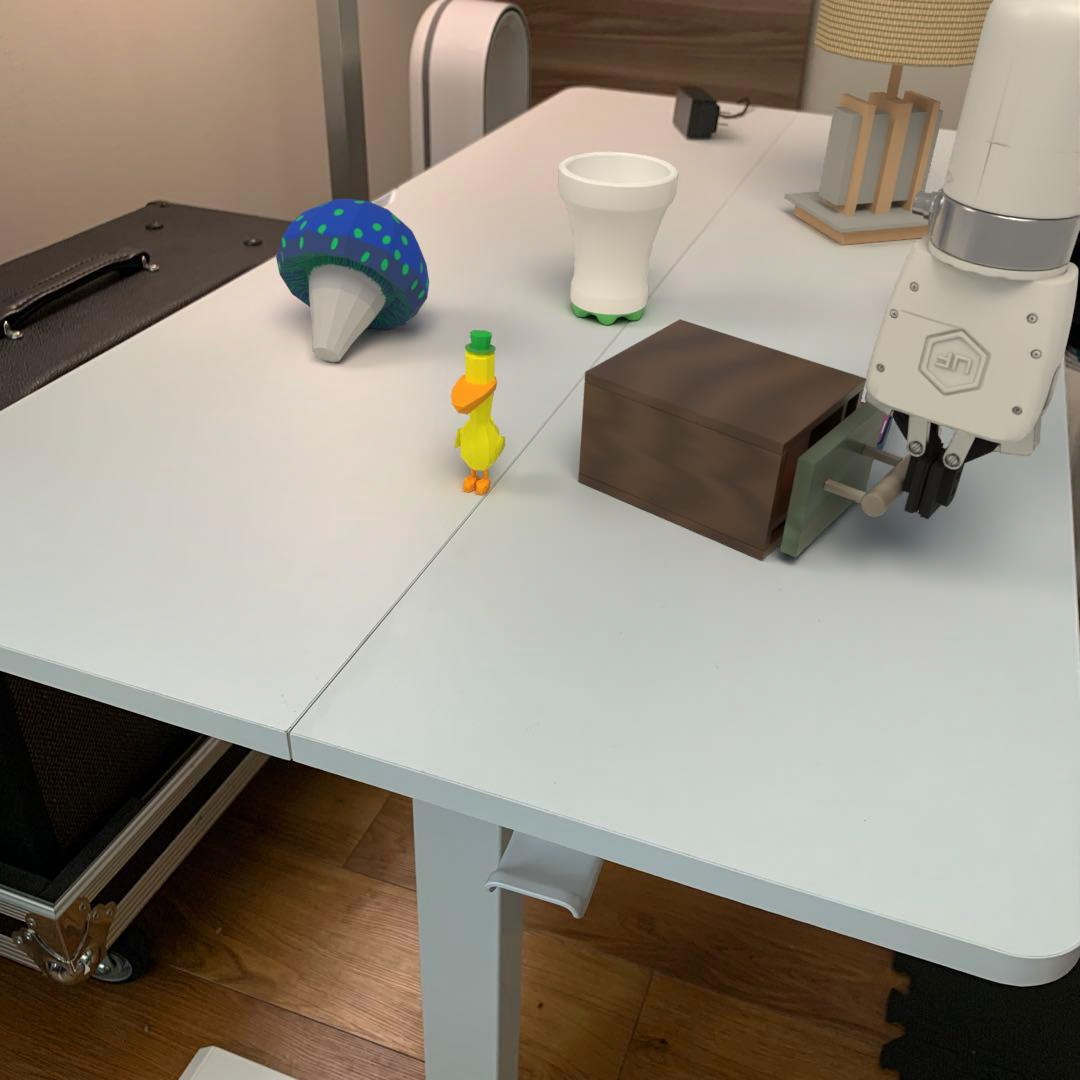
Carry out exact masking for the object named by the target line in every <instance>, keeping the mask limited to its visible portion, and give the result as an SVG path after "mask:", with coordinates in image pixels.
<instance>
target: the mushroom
mask: <svg viewBox="0 0 1080 1080" xmlns="http://www.w3.org/2000/svg"><path fill="white" fill-rule="evenodd" d="M276 252H277V253H276V255H275V259H276V263H277V264H276V265H277V268H278V272H279V273H278V274H279V276H280V277H281V279H282V281H283V282H284V284H285V285H286V287H287V289H288V290H289V292H290V293H291V295H292V296H294V297H295V298H297V300H299V301H301V302H302V303H304V304H305V305H306V306H308V307H309V308H310V318H311V331H312V332H311V333H312V334H311V336H312V337H311V339H312V340H311V342H312V343H311V346H312V347H311V349H312V354H313V355H314V356H316V357H317V358H319V360H323V361H325V362H330V363H337V362H338V363H339V362H340V361H341V360H342V358H343V357H344V355H345V354H346V353H347V351H348V350H349V349H350V347H351V346H352V345H353V343H354V342H355V341H356V340H357V339H358V338H359V337H360V336H361V335H362V333H363V332H364V331H365V330H366V329H367V328H368V329H372V330H373V329H374V330H381V331H382V330H388V329H391V328H396V327H401V326H405V325H406V324H407V323H409V322H410V321H411V320H412V319H413V318H414V317H415V316H417V314H418V313H419V311H420V310H421V308H422V307H423V305H424V304H425V302H426V300H427V299H428V297H429V296H428V294H429V287H430V278H429V270H428V264H427V262H426V260H425V257H424V254H423V252H422V249H421V247H420V244H419V242H418V240H417V238H416V235H415V234H414V231H413V230H412V229H411V228H410V227H409V226H407V225H406V224H405V223H404V222H403V221H402V220H401V219H400V218H399V217H397V216H396V215H395V214H394V213H393V212H392V211H391V210H389V209H388V208H385V207H383V206H381V205H379V204H376V203H374V202H372V201H369V200H362V199H353V198H336V199H333V200H330V201H327V202H324V203H321V204H319V205H316V206H314V207H312V208H310V209H308V210H305V211H303V212H302V213H300V214H299V215H298V216H297V217H296V218H295V219H294V220H293V221H292V222H291V223H290V224H289V225H288V227H287V229H286V230H285V233H284V234H283V236H282V237H281V240H280V243H279V247H278V250H277V251H276Z"/></svg>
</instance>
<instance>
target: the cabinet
mask: <svg viewBox="0 0 1080 1080" xmlns="http://www.w3.org/2000/svg"><path fill="white" fill-rule="evenodd" d="M865 388H866V377H863V376H860V375H856V374H854V373H851V372H848V371H844V370H842V369H838V368H835V367H832V366H828V365H825V364H823V363H819V362H816V361H813V360H809V359H806V358H803V357H800V356H797V355H793V354H790V353H787V352H784V351H781V350H778V349H774V348H772V347H768V346H766V345H763V344H759V343H756V342H753V341H749V340H746V339H743V338H740V337H737V336H734V335H731V334H729V333H728V334H727V333H724V332H721V331H719V330H715V329H712V328H709V327H706V326H703V325H699V324H696V323H694V322H690V321H688V320H684V319H678V320H676V321H674V322H672V323H670V324H668V325H667V326H665V327H663V328H662V329H660V330H658V331H656V332H654V333H652V334H650V335H649V336H647V337H645V338H643V339H641V340H640V341H638V342H635V344H632V345H631V346H629V347H627V348H626V349H624V350H622V351H620V352H618V353H617V354H615V355H613V356H611V357H609V358H607V359H606V360H604V361H602V362H600V363H598V364H597V365H595V366H593V367H591V368H589V369H588V370H586V371H585V372H584V383H583V398H582V399H583V400H582V416H581V431H580V432H581V433H580V434H581V435H580V449H579V463H578V464H579V466H578V478H577V479H578V480H577V481H578V483H581V484H582V485H585V486H587V487H590V488H593V489H594V490H597V491H600V492H602V493H604V494H606V495H608V496H611V497H613V498H616V499H618V500H620V501H623V502H624V503H627V504H629V505H632V506H634V507H637V508H639V509H641V510H643V511H645V512H648V513H651V514H652V515H655V516H658V517H659V518H662V519H665V520H666V521H669V522H671V523H673V524H676V525H677V526H681V527H683V528H685V529H688V530H689V531H692V532H695V533H697V534H699V535H701V536H704V537H706V538H708V539H711V540H713V541H716V542H718V543H719V544H722V545H725V546H727V547H729V548H732V549H734V550H736V551H738V552H741V553H743V554H746V555H748V556H750V557H752V558H755V559H757V560H759V561H763V560H765V558H766V557H768V556H769V555H770V554H771V553H772V552H773V551H774V550H775V549H777V547H779V545H781V543H782V538H783V533H784V528H785V523H786V520H785V521H783V522H782V523H781V524H780V525H779V526H778V527H777V528H776V529H775V530H773V531H772V528H773V523H774V517H775V512H776V507H777V501H778V496H779V491H780V485H781V480H782V475H783V470H784V464H785V459H786V454H787V450H788V449H789V448H791V447H792V446H793V445H794V444H796V443H797V442H798V441H799V440H801V439H802V438H803V437H804V436H806V435H807V434H808V433H809V432H811V431H812V430H813V429H814V428H815V427H817V426H818V425H819V424H820V423H822V422H823V421H824V420H825V419H827V418H828V417H829V416H830V415H832V414H833V413H834V412H835V411H836V410H838V409H839V408H840V407H841V406H843V405H844V404H845V403H846V402H848V406H847V410H846V415H845V419H846V418H847V417H848V416H849V415H850V414H852V413H853V412H854V411H855V410H856V409H858V408H859V407H860V404H861V402H862V399H863V395H864V390H865Z"/></svg>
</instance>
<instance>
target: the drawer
mask: <svg viewBox="0 0 1080 1080" xmlns="http://www.w3.org/2000/svg"><path fill="white" fill-rule="evenodd" d="M847 406H848V402H846V403H845V404H844V405H843V406H841V407H840V408H839V409H838V410H836V411H835V412H834V413H833V414H832V415H830V416H829V417H828V418H827V419H825V420H824V421H823V422H822V423H820V424H819V425H818V426H817V427H815V428H814V429H813V430H812V431H811V435H810V440H809V445H808V450H807V451H806V452H805V453H803V454H802V455H801V456H800V457H799V458H798V461H797V466H796V472H795V477H794V482H793V486H792V487H790V488H789V489H788V490H787V491H786V492H785V493H783V494H782V495H781V496H780V492H781V486H782V481H783V476H784V471H785V465H786V460H787V455H788V450H787V454H786V459H785V464H784V470H783V475H782V480H781V485H780V491H779V496H778V501H777V507H776V512H775V517H774V523H773V528H772V531H773V530H775V529H776V528H777V527H778V526H779V525H780V524H781V523H782V522H783V521H785V520H786V523H785V528H784V533H783V538H782V543H781V544H780V547H779V548H780V549H779V551H780V552H782V553H783V554H786V555H789V556H791V557H793V558H797V557H798V556H799V555H800V554H801V553H802V552H803V551H804V550H805V549H806V548H807V547H808V546H809V545H810V544H811V543H812V542H813V541H814V540H815V539H816V538H818V536H819V535H821V533H823V532H824V531H825V530H826V529H827V528H828V527H829V526H830V525H831V524H832V523H833V522H834V521H835V520H836V519H837V518H839V516H841V514H842V513H843V512H845V511H846V510H847V509H848V508H849V507H850V506H851V505H852V504H853V503H854V502H855V503H859V504H860V506H861V509H862V511H863V513H865V514H866V515H867V516H870V517H874V518H875V517H880V516H882V515H883V514H884V513H885V512H886V511H887V510H889V508H890V507H891V506H892V505H893V504H894V503H895V502H896V501H897V500H898V499H899V498H900V497H901V496H902V495H903V494H904V493H905V491H902V487H903V483H904V480H905V476H906V472H907V468H908V465H909V461H910V457H911V454H909V453H908V454H907V455H905V456H904V457H903V456H899V455H896V454H893V453H891V452H888V451H885V450H883V449H882V450H879V449H876V447H877V443H878V439H879V435H880V431H881V427H882V422H883V418H884V413H882V412H881V411H879V410H877V409H876V408H874V407H872V406H871V405H869V404H868V403H867V402H866V401H865V403H864V404H862V405H861V406H860V407H859V408H858V409H856V410H855V411H854V412H853V413H852V414H850V415H849V416H848V417H847V418H846V419H845V415H846V410H847ZM874 460H875V461H878V462H880V463H882V464H886V465H888V466H891V467H893V468H892V469H891V470H889V472H888V473H887V474H886V475H885V476H883V478H881V480H879V481H878V482H877V483H876V484H875V485H874V486H873V487H872V488H871V489H870V490H869V491H868V492H865V491H866V490H867V488H868V484H869V480H870V475H871V472H872V468H873V464H874Z"/></svg>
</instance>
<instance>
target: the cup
mask: <svg viewBox="0 0 1080 1080" xmlns="http://www.w3.org/2000/svg"><path fill="white" fill-rule="evenodd" d="M678 182H679V171H678V169H677V168H676V166H674V165H673V164H672V163H670V162H668V161H665V160H663V159H662V158H658V157H654V156H650V155H647V154H640V153H632V152H624V151H591V152H584V153H580V154H576V155H572V156H571V155H570V156H569V157H567V158H565V159H563V160H562V161H561V162H560V163H559V164H558V165H557V190H558V193H559V196H560V198H561V199H562V201H563V203H564V206H565V209H566V213H567V216H568V222H569V227H570V232H571V236H572V244H573V259H574V260H573V269H574V270H573V276H572V279H571V281H570V292H569V298H570V301H571V306H572V310H573V313H574V315H575V316H577V317H579V318H585V317H589V316H591V315H592V316H595V317H596V318H597V320H598V322H599V323H601V324H602V325H605V326H608V325H609V326H610V325H612V324H613V323H615V322H616V320H617V319H618V318H622V317H623V318H624V319H627V321H633V322H635V321H638V320H640V319H641V317H642V315H643V313H644V311H645V308H646V306H647V304H648V300H649V299H648V297H649V283H648V280H647V279H648V273H649V265H650V259H651V255H652V250H653V246H654V243H655V239H656V238H657V234H658V232H659V229H660V226H661V223H662V221H663V219H664V217H665V214H666V212H667V210H668V208H669V207H670V206H671V204H672V203H673V202H674V200H675V198H676V196H677V191H678V189H677V188H678Z"/></svg>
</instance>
